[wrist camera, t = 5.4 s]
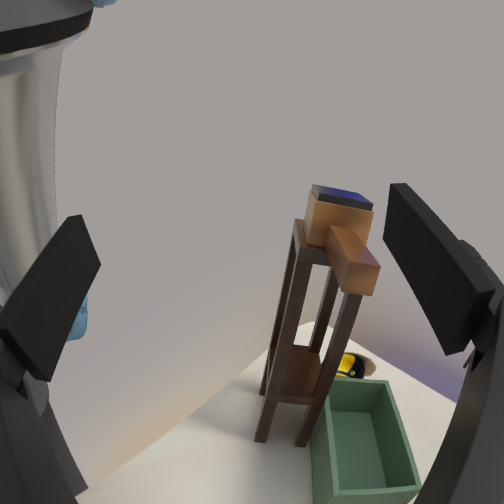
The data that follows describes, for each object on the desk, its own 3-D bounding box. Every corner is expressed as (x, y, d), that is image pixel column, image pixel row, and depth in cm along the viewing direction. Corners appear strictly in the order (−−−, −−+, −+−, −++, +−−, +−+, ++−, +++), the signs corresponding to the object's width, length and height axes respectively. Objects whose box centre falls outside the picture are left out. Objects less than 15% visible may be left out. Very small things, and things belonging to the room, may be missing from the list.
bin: (313, 519, 29) (333, 495, 26) (308, 407, 49) (320, 375, 46) (395, 514, 28) (423, 488, 26) (371, 411, 48) (387, 380, 46)
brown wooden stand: (254, 441, 41) (299, 246, 31) (259, 388, 52) (294, 218, 42) (305, 447, 41) (373, 259, 31) (302, 394, 52) (350, 228, 42)
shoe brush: (317, 288, 22) (333, 215, 21) (302, 227, 38) (310, 183, 37) (393, 299, 22) (414, 231, 20) (350, 235, 38) (359, 193, 36)
